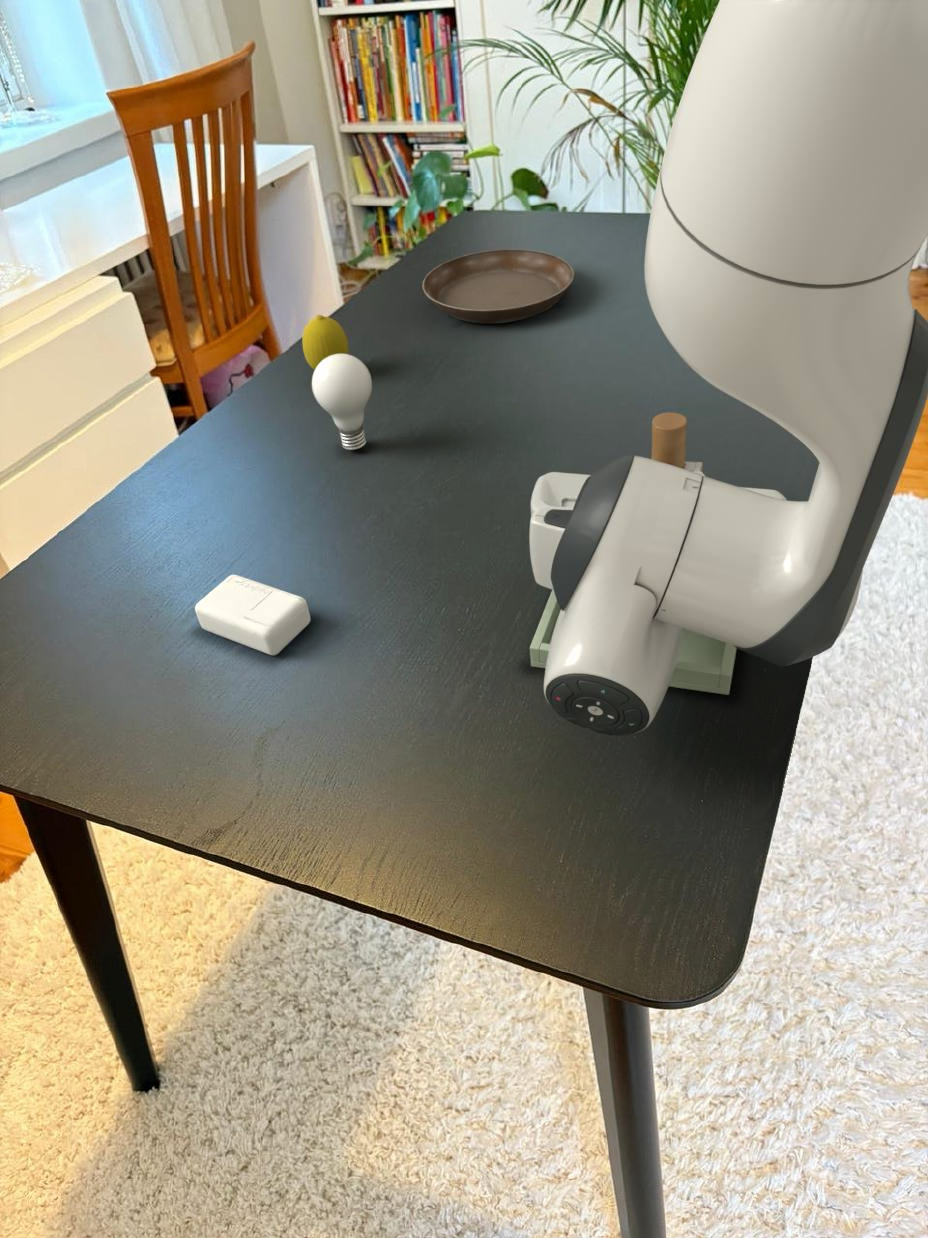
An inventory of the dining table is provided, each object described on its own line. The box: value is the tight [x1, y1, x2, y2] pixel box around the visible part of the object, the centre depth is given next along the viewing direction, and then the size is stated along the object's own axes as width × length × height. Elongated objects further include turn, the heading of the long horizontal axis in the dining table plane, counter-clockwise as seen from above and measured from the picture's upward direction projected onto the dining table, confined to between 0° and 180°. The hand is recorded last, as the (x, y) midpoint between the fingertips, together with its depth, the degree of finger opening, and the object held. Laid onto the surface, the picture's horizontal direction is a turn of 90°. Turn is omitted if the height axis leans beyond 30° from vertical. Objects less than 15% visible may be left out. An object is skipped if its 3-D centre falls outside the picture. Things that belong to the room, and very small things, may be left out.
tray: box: [529, 589, 738, 696], centre depth 84 cm, size 16×24×2 cm, turn 162°
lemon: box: [301, 314, 349, 370], centre depth 120 cm, size 6×6×8 cm
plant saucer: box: [422, 248, 575, 325], centre depth 133 cm, size 21×21×3 cm
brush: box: [650, 412, 688, 468], centre depth 84 cm, size 6×4×12 cm, turn 71°
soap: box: [194, 574, 311, 656], centre depth 85 cm, size 9×6×3 cm, turn 58°
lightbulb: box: [311, 353, 373, 452], centre depth 105 cm, size 6×6×11 cm
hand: (669, 466), depth 84 cm, fingers closed on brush, 3 cm apart
